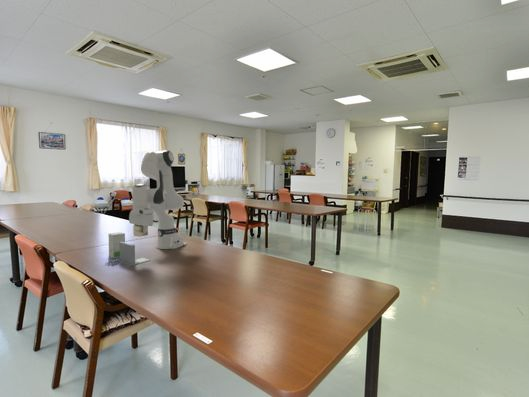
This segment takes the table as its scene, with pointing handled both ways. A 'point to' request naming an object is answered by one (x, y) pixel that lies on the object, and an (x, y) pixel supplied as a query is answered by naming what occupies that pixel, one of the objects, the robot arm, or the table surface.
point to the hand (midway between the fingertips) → (140, 232)
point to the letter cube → (139, 231)
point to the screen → (127, 254)
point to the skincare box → (115, 244)
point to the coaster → (142, 260)
